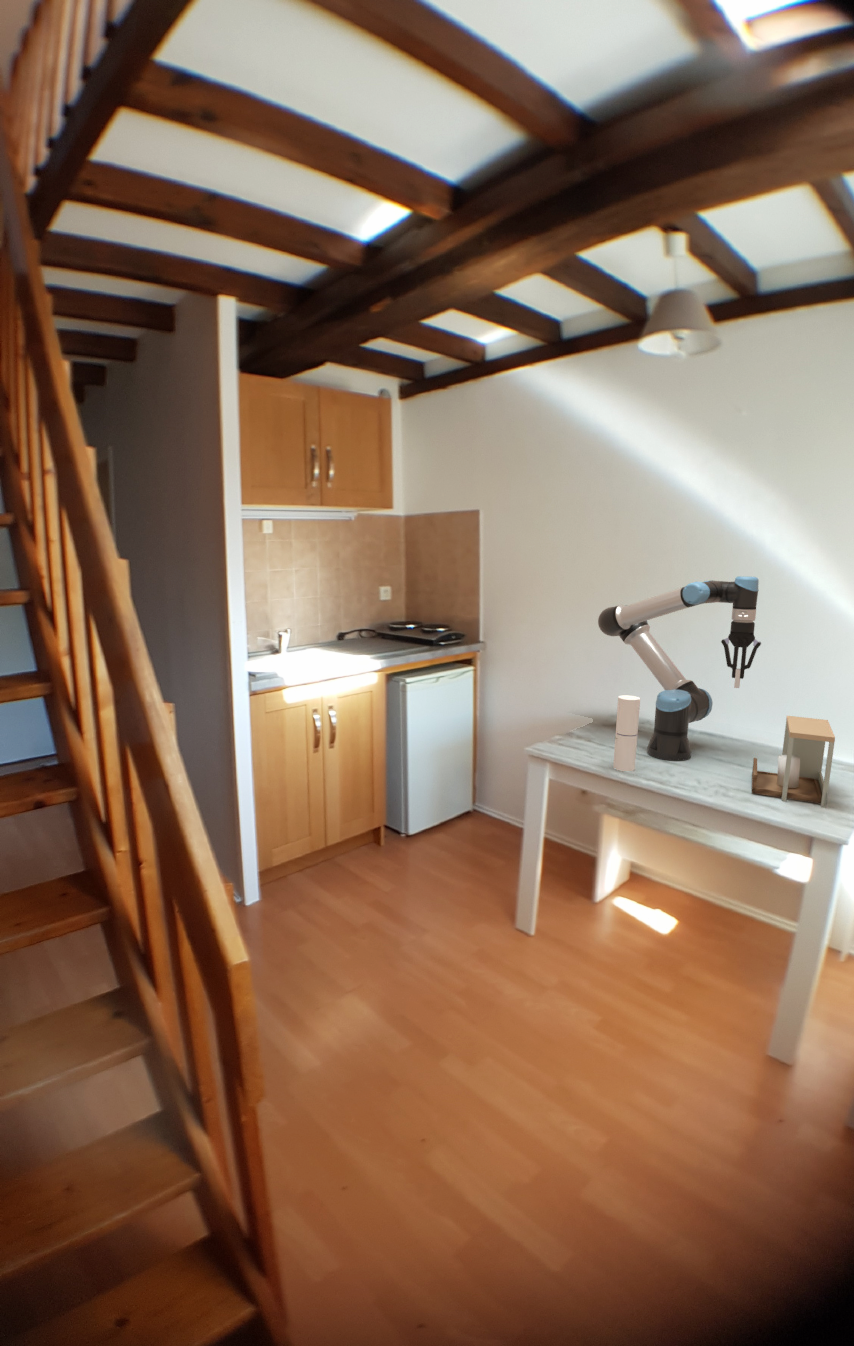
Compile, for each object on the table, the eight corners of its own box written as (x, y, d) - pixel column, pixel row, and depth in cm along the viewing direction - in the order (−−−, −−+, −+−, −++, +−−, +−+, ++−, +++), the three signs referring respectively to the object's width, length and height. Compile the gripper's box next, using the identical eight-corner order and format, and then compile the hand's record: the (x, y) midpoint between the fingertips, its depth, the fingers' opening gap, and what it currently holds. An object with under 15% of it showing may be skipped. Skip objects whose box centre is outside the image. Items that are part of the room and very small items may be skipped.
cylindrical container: (623, 773, 227) (628, 700, 222) (608, 766, 233) (613, 696, 228) (639, 770, 230) (644, 698, 225) (624, 764, 236) (629, 694, 231)
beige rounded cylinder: (780, 787, 210) (782, 759, 209) (774, 781, 216) (775, 754, 215) (801, 788, 209) (803, 760, 208) (794, 782, 215) (795, 755, 214)
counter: (781, 800, 204) (789, 732, 200) (779, 778, 224) (786, 715, 220) (825, 807, 199) (835, 737, 195) (819, 784, 219) (827, 720, 215)
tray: (751, 793, 209) (753, 774, 208) (751, 775, 225) (753, 757, 224) (821, 803, 201) (824, 784, 200) (816, 784, 217) (819, 766, 216)
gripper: (721, 620, 235) (715, 687, 239) (763, 623, 229) (756, 691, 233) (724, 619, 241) (718, 683, 246) (764, 621, 235) (757, 687, 239)
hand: (736, 687), depth 239 cm, fingers closed
